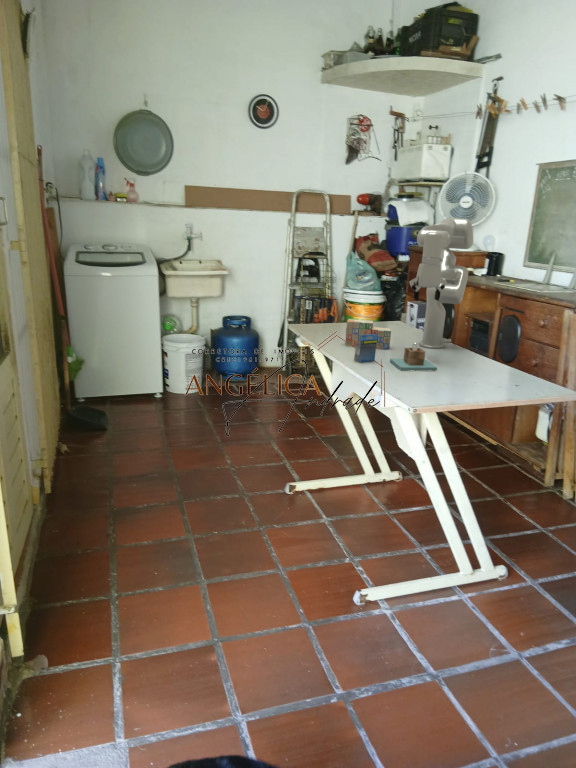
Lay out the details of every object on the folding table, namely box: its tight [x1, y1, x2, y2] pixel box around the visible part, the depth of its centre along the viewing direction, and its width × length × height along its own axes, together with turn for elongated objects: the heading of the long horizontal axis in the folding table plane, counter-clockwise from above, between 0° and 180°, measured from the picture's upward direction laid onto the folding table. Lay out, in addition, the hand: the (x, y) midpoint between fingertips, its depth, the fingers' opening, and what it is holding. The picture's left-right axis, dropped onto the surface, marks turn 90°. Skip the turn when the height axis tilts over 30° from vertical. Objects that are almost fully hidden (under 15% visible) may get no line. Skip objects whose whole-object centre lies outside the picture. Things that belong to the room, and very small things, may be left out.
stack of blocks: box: [344, 318, 392, 350], centre depth 270 cm, size 21×6×12 cm, turn 77°
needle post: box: [411, 342, 419, 351], centre depth 238 cm, size 2×2×9 cm
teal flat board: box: [389, 358, 438, 372], centre depth 239 cm, size 16×14×2 cm
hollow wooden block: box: [403, 347, 426, 365], centre depth 238 cm, size 7×7×6 cm
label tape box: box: [353, 334, 377, 363], centre depth 243 cm, size 9×4×12 cm, turn 119°
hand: (426, 300), depth 247 cm, fingers open, 9 cm apart
